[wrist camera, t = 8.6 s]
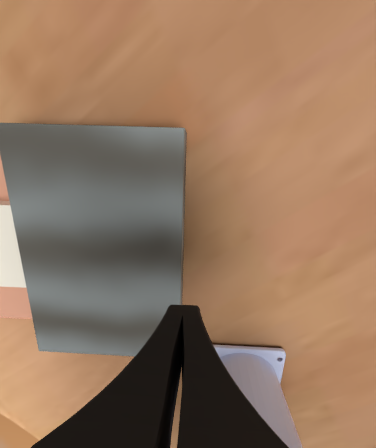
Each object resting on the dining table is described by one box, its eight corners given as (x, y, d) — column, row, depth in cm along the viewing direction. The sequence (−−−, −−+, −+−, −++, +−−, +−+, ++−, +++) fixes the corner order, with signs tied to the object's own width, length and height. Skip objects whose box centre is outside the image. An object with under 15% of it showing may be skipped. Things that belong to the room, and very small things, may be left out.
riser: (181, 332, 22) (178, 358, 19) (59, 326, 23) (38, 350, 20) (186, 132, 17) (184, 128, 14) (27, 128, 17) (-7, 122, 14)
